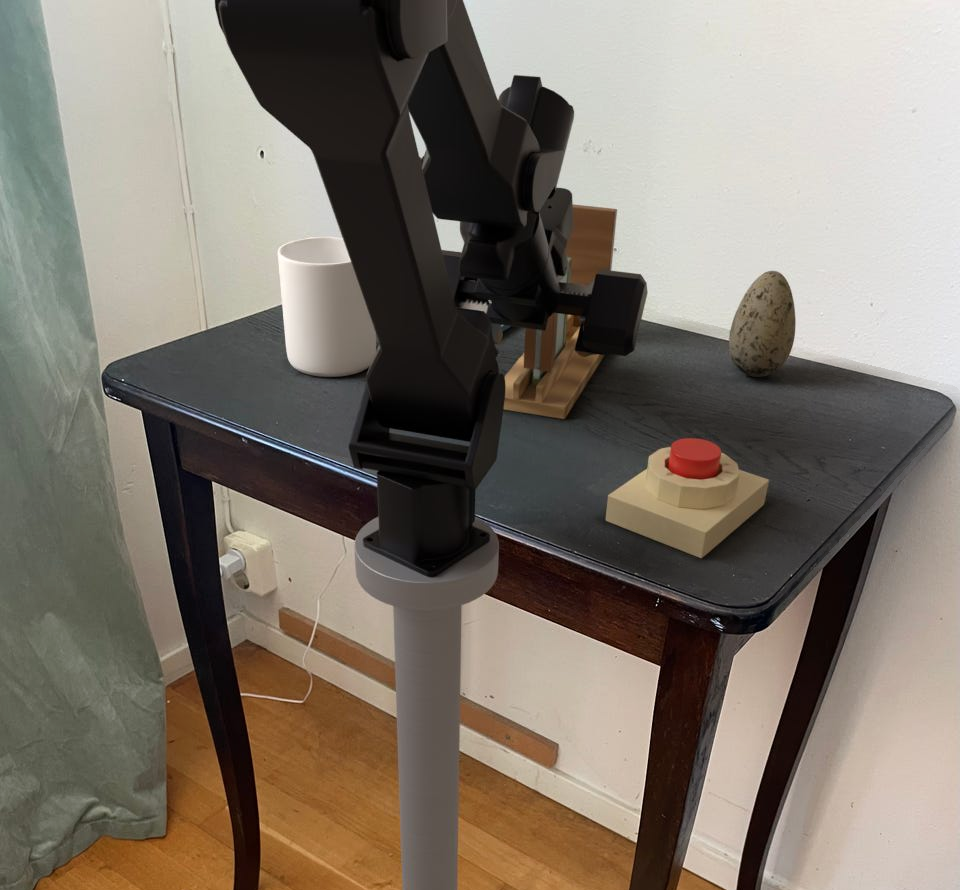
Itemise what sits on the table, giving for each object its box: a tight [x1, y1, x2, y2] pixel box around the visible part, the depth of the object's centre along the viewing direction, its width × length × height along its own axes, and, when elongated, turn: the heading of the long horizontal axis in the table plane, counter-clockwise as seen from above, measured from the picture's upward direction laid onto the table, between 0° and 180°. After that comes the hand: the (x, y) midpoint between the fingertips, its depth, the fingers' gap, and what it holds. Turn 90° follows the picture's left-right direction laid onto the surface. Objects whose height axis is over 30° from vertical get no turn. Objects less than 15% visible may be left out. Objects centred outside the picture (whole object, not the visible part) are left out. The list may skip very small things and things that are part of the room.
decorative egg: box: [728, 270, 797, 378], centre depth 96 cm, size 6×6×10 cm
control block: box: [605, 446, 770, 559], centre depth 76 cm, size 10×8×4 cm
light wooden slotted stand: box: [503, 203, 618, 420], centre depth 95 cm, size 20×7×13 cm, turn 162°
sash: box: [523, 257, 572, 386], centre depth 93 cm, size 9×2×9 cm, turn 162°
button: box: [668, 437, 722, 480], centre depth 74 cm, size 4×4×2 cm
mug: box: [277, 236, 377, 378], centre depth 97 cm, size 9×12×11 cm
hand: (542, 345), depth 91 cm, fingers open, 8 cm apart
